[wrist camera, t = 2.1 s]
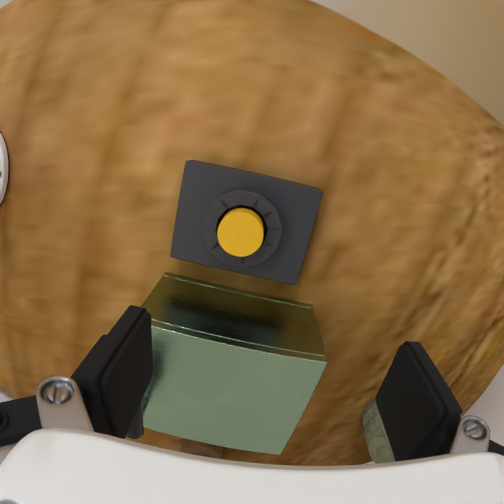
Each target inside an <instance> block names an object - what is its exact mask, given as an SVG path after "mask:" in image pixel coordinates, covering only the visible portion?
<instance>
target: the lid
mask: <svg viewBox="0 0 504 504" xmlns="http://www.w3.org/2000/svg"><path fill="white" fill-rule="evenodd" d="M151 329H152V355H153V375H152V378H151V381H150V383H149V385H148V387H147V389H146V392H145V394H144V396H143V398H142V400H141V403H140V405H139V407H138V409H137V412H136V414H135V416H134V419H133V421H132V423H131V425H130V428H129V430H128V432H127V435H126V436H127V437H129V438H132V439H137V438H140V437H141V436H142V435H143V433H144V427H145V428H148V429H152V430H155V431H159V432H162V433H166V434H170V435H173V436H177V437H181V438H185V439H190V440H194V441H198V442H203V443H208V444H212V445H218V446H223V447H228V448H234V449H240V450H247V451H254V452H261V453H269V454H278V455H280V454H281V452H282V450H283V449H284V447H285V445H286V443H287V442H288V440H289V438H290V436H291V434H292V433H293V431H294V429H295V427H296V425H297V423H298V421H299V419H300V418H301V416H302V414H303V412H304V410H305V408H306V406H307V404H308V402H309V400H310V398H311V396H312V394H313V392H314V390H315V388H316V386H317V384H318V382H319V380H320V377H321V375H322V373H323V371H324V369H325V367H326V365H327V359H326V357H324V356H317V355H311V354H305V353H299V352H293V351H287V350H281V349H276V348H271V347H265V346H260V345H255V344H250V343H245V342H240V341H236V340H231V339H226V338H222V337H217V336H213V335H209V334H204V333H200V332H196V331H192V330H188V329H184V328H180V327H176V326H172V325H168V324H165V323H161V322H157V321H153V320H151Z"/></svg>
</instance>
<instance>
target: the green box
mask: <svg viewBox="0 0 504 504" xmlns="http://www.w3.org/2000/svg"><path fill="white" fill-rule="evenodd" d="M141 307H142V308H146V310H147V313H150V314H151V320H153V321H157V322H161V323H165V324H168V325H172V326H176V327H180V328H184V329H188V330H192V331H196V332H200V333H204V334H209V335H213V336H217V337H222V338H226V339H231V340H236V341H240V342H245V343H250V344H255V345H260V346H265V347H271V348H276V349H281V350H287V351H293V352H299V353H305V354H311V355H317V356H324V357H326V355H325V351H324V347H323V343H322V340H321V336H320V332H319V328H318V324H317V321H316V317H315V313H314V310H313V306H312V305H310V304H305V303H300V302H295V301H290V300H285V299H281V298H276V297H271V296H266V295H262V294H257V293H253V292H248V291H243V290H239V289H234V288H230V287H226V286H221V285H217V284H212V283H208V282H204V281H200V280H195V279H191V278H187V277H183V276H179V275H175V274H170V273H165V274H164V275H163V277H162V278H161V279H160V281H159V282H158V283H157V285H156V286H155V288H154V289H153V290H152V292H151V293H150V294H149V296H148V297H147V299H146V300H145V301H144V303H143V304H142V305H141Z"/></svg>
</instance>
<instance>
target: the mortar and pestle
mask: <svg viewBox="0 0 504 504" xmlns="http://www.w3.org/2000/svg"><path fill="white" fill-rule="evenodd" d="M223 451H224V450H223V447H222V446H218V445H212V444H208V443H203V442H198V441H194V440H190V439H184V440H183V443H182V448H181V451H180V452H183V453H188V454H193V455H199V456H205V457H211V458H217V459H222V457H223Z"/></svg>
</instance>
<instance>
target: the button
mask: <svg viewBox="0 0 504 504" xmlns="http://www.w3.org/2000/svg"><path fill="white" fill-rule="evenodd" d="M263 234H264V228H263V223H262V220H261V219H260V217H259V216H258V215H257V214H256V213H255V212H254V211H252V210H250V209H246V208H237V209H234V210H231V211H230V212H228V213H227V214H226V215H225V216H224V218H223V219H222V221H221V223H220V224H219V227H218V231H217V237H218V241H219V243H220V245H221V247H222V248H223V249H224V250H225V251H226V252H227V253H229V254H231V255H234V256H238V257H243V256H248V255H251V254H253V253H254V252H255V251H257V250H258V249H259V247H260V246H261V244H262V241H263Z"/></svg>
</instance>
